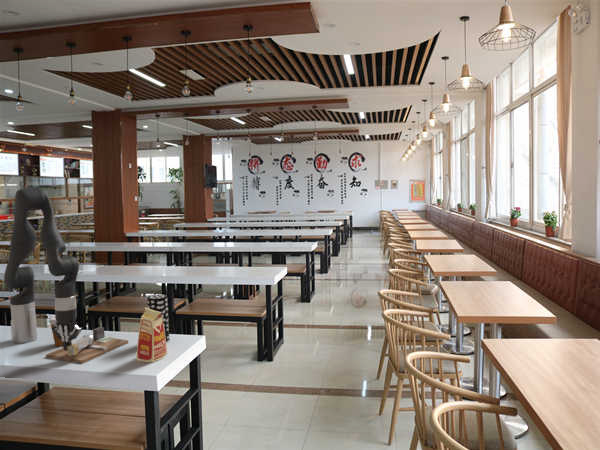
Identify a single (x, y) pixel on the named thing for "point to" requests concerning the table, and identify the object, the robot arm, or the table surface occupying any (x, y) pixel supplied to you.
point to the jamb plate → (90, 348)
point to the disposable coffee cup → (56, 340)
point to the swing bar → (80, 344)
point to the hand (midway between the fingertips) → (67, 349)
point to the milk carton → (151, 337)
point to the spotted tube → (160, 309)
